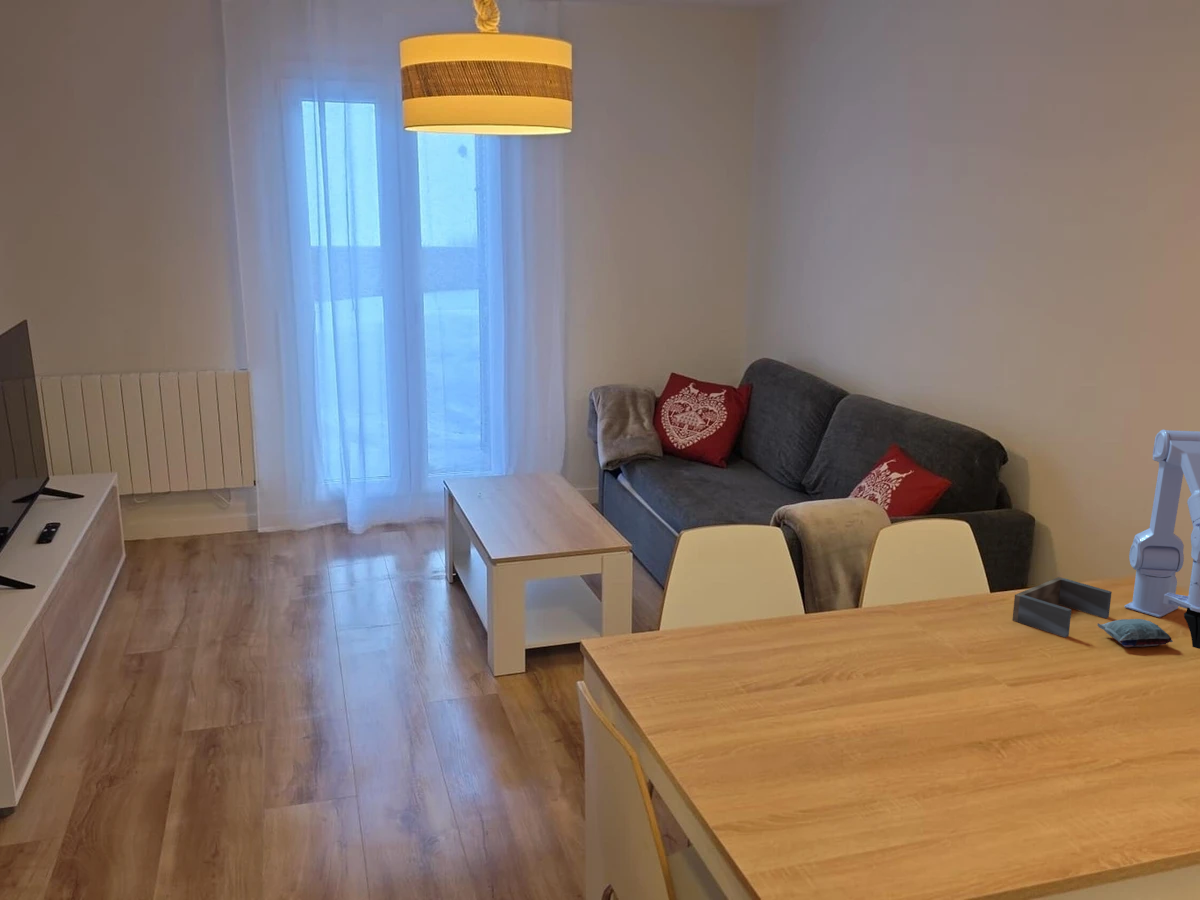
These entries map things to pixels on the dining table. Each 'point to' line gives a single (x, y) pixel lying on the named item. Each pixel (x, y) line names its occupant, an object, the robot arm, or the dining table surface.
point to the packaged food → (1136, 632)
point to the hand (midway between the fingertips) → (1198, 646)
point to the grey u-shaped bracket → (1043, 601)
